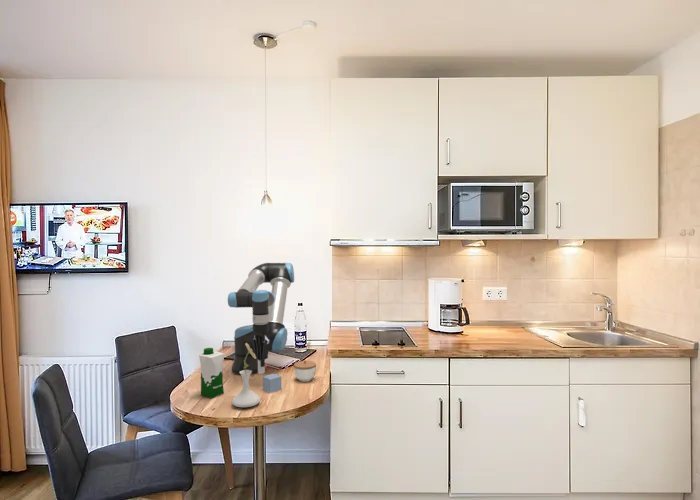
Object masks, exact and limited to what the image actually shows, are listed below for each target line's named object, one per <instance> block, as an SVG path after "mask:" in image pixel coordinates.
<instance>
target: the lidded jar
mask: <svg viewBox="0 0 700 500" xmlns="http://www.w3.org/2000/svg"><path fill="white" fill-rule="evenodd" d="M293 368H294V369H293V371H294V375H295V378H297V380H298V381H299V382H303V383H306V382H310V381H312V379H313V378H314V377H315V375H316V372H317V363H316V362H315V361H312V360H302V361H301V360H300V361H297V362H294V363H293Z"/></svg>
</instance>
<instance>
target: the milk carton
mask: <svg viewBox="0 0 700 500" xmlns="http://www.w3.org/2000/svg"><path fill="white" fill-rule="evenodd" d="M224 357H225V353H223V352H220V351H214V348H213V347H206V348H203V353H200V354H198V358H199V363H200V396H202V397H205V398H209V399H212V398H216V397H218V396H220V395H224V393H225V392H224V391H225V390H224V379H223V378H224V377H223V366H224V365H223V362H224Z"/></svg>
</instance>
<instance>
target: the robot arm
mask: <svg viewBox="0 0 700 500" xmlns="http://www.w3.org/2000/svg"><path fill="white" fill-rule="evenodd" d="M294 282H295V271H294V265H293V264H292V263H291V262H265V263H261V264H258V265H256V266H255V267H253V268H252V269H251V270H250V271H249V273H248V277H247V278H246V279H245V281H244V282H243V284H242V285H240V288H239V289H238V290H237V291H233V292H232V291H231V292H229V293H228V296H227V304H228V306H229V308H252V324H249V325H248V324H247V325H244V326H241V327H240V326H239V327H237V328H236V329H234V330H235V331H234V337H233V339H234V358H233V362H232V365H231V369H230V370H231V374H233V375H239V376H242V375H241V374H240V373H239V372H240V371H242V370H245V368H244V367H245V366H246V365H245V366H244V360H245V358H246V360H245V362H246V364H247V365H249V366H248V367H246V370H251V371H252V372H251V374H250V375H253V374H259V375H261V374H265V371H266V370H265V367H266V364H265V361H266V360H267V359H268V358H269V352H281V351H283V349H284V348H285V347H286V344H287V340H288V330H287V328H286V326H285V324H284V323H283V322H284V316H285V308H286V302H287V294H288V289H290V287H291V285H292V284H293V283H294ZM264 283H265V284H267V283H269V284H270V285H271V287H272V288H271V291H269V290H266V289H258V288H259V286H261V285H262V284H264ZM246 343H247V344H248V345H249V347H250V349H252V352H253V353H254V354H255V355H256V359H254V358H253V356H252V355H251V354H250V353H248V349H247V347H246V345H245V344H246ZM247 353H248V355H247ZM246 355H247V357H246Z"/></svg>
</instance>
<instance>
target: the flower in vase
mask: <svg viewBox="0 0 700 500" xmlns="http://www.w3.org/2000/svg"><path fill="white" fill-rule="evenodd" d="M245 345H246V347H247V349H248V353H250V354H251V355H252V356H253V358H254V359H256V355H255V354H254V353H253V352H252V349H250V347H249V345H248V344H247V343H246V344H245ZM248 353H247V355H248ZM247 355H246V357H247ZM245 360H246V358H245ZM245 360H244V366H245V365H246V366H245V367H244V368H245V370H242V371H240V372H239V373H240V374H241V375H240V376H241V377H242V378H241V379H242V389H241V391H240V392H238V393H237V394H236V395H235V396H234V397H233V399H232V401H231V404H232V406H234V407H237V408H251V407H254V406H256V405H258V404H259V402H260V401H261V398H260V396H259V395H258V394H257V393H255V392H254V391H253V390H251V389H250V385H249V383H250V382H249V380H250V376H251V375H252V374H251V372H252V371H251V370H246V367H248V366H249V365H247V364H246V362H245Z"/></svg>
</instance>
